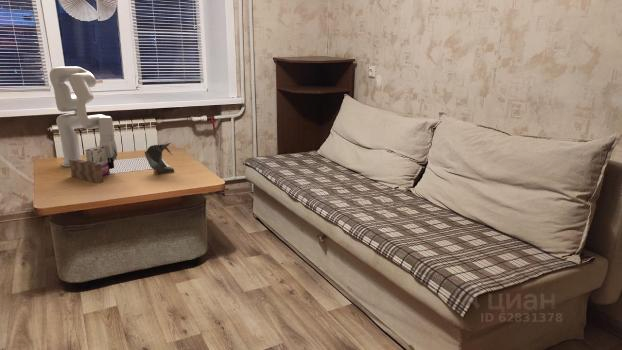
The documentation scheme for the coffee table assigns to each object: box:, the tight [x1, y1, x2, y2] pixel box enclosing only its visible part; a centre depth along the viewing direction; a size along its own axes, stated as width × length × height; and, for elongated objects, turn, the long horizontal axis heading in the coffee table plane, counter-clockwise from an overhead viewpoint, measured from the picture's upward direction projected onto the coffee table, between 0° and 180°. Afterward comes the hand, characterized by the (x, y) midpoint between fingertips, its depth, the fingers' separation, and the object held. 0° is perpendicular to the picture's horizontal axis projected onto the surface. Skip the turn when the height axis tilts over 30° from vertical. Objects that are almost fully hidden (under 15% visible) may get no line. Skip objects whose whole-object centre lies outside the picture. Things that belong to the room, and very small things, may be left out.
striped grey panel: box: [69, 159, 104, 184], centre depth 247 cm, size 24×3×10 cm, turn 60°
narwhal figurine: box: [144, 142, 175, 175], centre depth 260 cm, size 14×15×18 cm
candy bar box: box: [84, 145, 111, 177], centre depth 253 cm, size 11×5×16 cm, turn 161°
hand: (111, 168), depth 260 cm, fingers closed
